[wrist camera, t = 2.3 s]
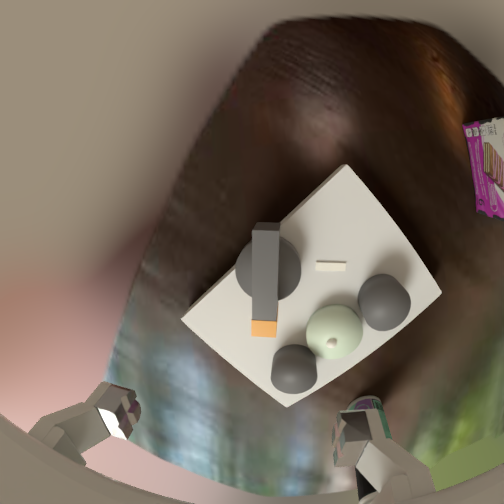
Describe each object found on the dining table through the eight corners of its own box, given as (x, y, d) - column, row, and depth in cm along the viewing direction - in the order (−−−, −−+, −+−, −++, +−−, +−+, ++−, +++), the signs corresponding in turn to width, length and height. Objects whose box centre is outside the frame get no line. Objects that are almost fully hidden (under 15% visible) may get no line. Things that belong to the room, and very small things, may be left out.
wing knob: (238, 218, 27) (225, 229, 21) (302, 219, 26) (306, 232, 20) (239, 306, 29) (228, 334, 24) (297, 308, 28) (298, 338, 23)
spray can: (351, 395, 35) (371, 516, 16) (385, 394, 34) (417, 506, 15) (342, 419, 36) (354, 530, 17) (375, 417, 36) (397, 522, 16)
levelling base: (341, 165, 27) (354, 163, 21) (431, 283, 29) (454, 303, 23) (188, 307, 34) (171, 332, 28) (287, 392, 36) (285, 423, 30)
